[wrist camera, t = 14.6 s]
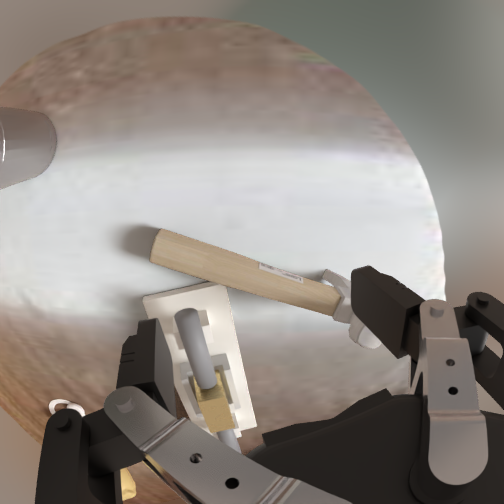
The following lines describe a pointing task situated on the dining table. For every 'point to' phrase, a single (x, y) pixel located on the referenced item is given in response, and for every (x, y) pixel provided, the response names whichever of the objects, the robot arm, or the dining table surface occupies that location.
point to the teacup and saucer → (70, 405)
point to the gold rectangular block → (215, 406)
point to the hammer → (261, 280)
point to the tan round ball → (127, 484)
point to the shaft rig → (204, 351)
